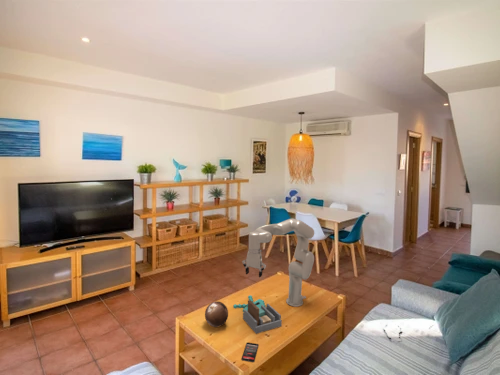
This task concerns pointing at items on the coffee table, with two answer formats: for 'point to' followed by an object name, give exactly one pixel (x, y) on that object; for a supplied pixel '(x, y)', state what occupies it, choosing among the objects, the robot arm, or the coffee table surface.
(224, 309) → the wooden sphere
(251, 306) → the brown block
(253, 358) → the smartphone
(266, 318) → the offcut beech
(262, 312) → the offcut teal
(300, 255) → the robot arm
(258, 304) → the alien figure
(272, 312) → the rack
